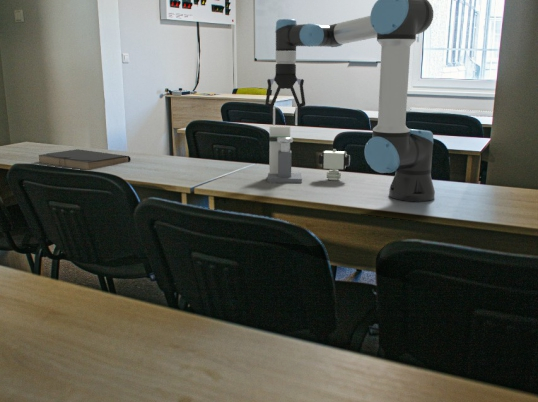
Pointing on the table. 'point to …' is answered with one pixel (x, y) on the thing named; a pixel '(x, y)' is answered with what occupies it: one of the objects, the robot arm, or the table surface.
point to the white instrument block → (283, 142)
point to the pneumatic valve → (334, 162)
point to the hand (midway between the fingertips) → (285, 124)
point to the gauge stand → (280, 159)
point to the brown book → (83, 159)
